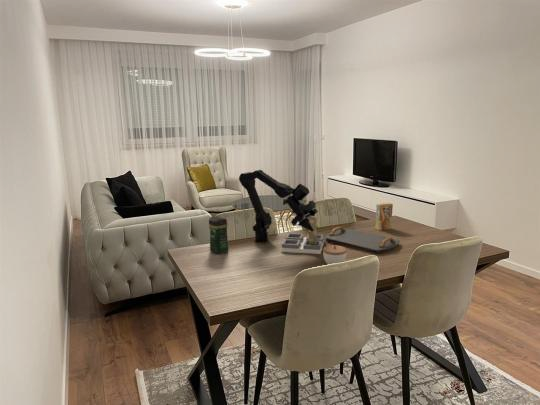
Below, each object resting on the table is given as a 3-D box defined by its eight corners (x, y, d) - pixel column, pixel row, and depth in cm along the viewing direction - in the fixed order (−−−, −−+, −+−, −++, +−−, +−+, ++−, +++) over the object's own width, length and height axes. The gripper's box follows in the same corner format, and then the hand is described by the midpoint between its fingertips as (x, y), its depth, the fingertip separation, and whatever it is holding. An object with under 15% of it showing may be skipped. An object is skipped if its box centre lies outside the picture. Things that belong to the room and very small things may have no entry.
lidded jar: (318, 265, 193) (318, 245, 191) (331, 258, 201) (331, 240, 199) (337, 270, 186) (338, 250, 184) (350, 264, 194) (351, 244, 192)
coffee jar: (231, 252, 212) (229, 217, 208) (217, 256, 207) (216, 220, 203) (220, 248, 220) (219, 213, 216) (207, 251, 215) (206, 216, 211)
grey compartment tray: (281, 251, 212) (281, 244, 211) (287, 239, 231) (287, 232, 230) (320, 253, 208) (320, 246, 207) (323, 241, 227) (324, 234, 226)
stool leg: (309, 245, 210) (309, 218, 207) (307, 242, 214) (307, 216, 211) (317, 244, 211) (317, 217, 208) (315, 242, 215) (315, 216, 212)
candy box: (387, 227, 253) (388, 202, 249) (391, 228, 249) (393, 203, 246) (375, 228, 250) (376, 203, 246) (379, 230, 246) (380, 205, 243)
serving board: (319, 241, 230) (319, 230, 228) (343, 232, 246) (343, 222, 244) (382, 257, 203) (383, 245, 202) (405, 245, 219) (405, 234, 218)
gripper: (296, 199, 202) (316, 224, 198) (314, 193, 217) (333, 216, 213) (282, 213, 208) (301, 238, 204) (301, 206, 223) (319, 228, 219)
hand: (314, 229), depth 210 cm, fingers closed on stool leg, 4 cm apart
